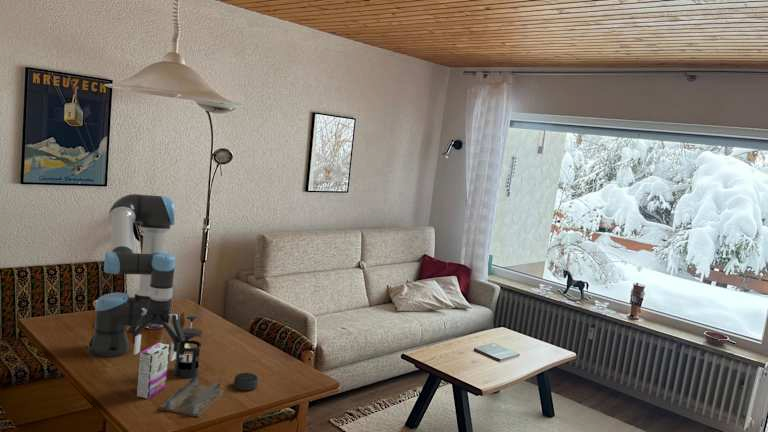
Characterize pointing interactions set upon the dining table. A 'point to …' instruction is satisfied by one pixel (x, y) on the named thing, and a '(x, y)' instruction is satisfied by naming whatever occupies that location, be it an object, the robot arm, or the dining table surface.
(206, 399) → the sliding track
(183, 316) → the hand bell
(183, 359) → the french press
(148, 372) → the candy bar box
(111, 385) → the dining table surface
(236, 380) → the smart speaker
